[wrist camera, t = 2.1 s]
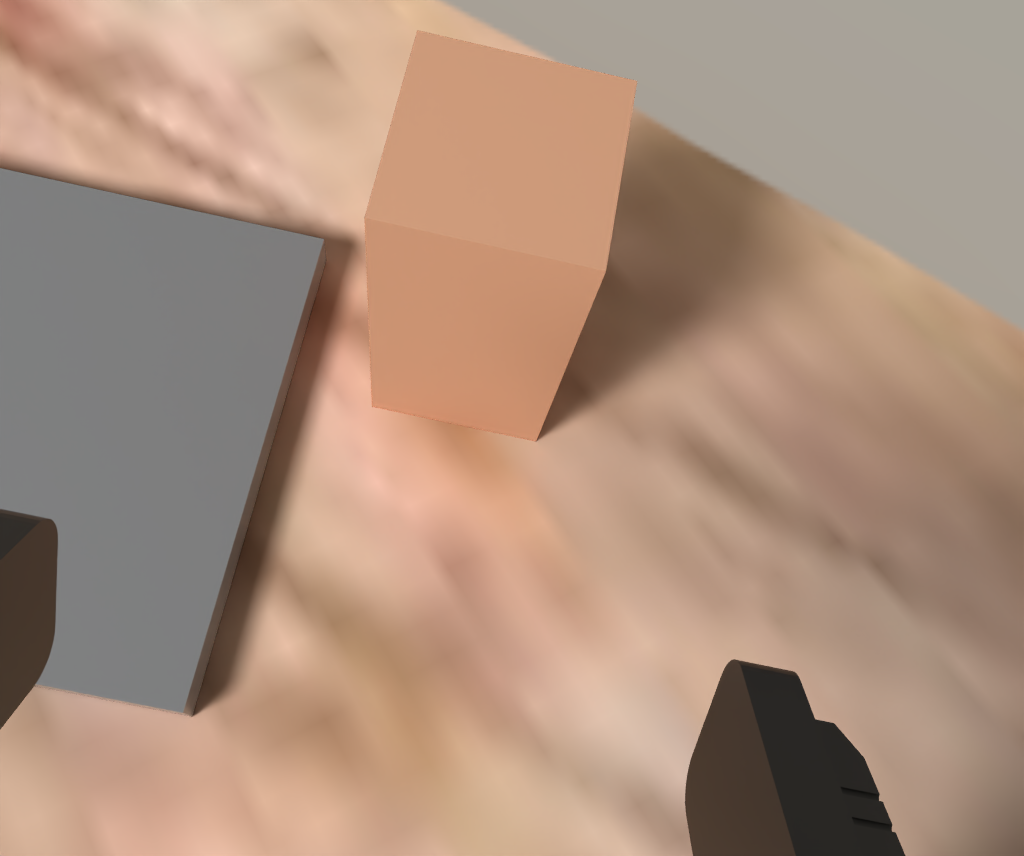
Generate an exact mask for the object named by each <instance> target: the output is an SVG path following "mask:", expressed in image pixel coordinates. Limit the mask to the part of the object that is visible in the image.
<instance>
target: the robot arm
mask: <svg viewBox="0 0 1024 856" xmlns="http://www.w3.org/2000/svg"><path fill="white" fill-rule="evenodd" d="M57 557H58V532H57V527H56V524H55V523H54V521H53V520H52V519H48V518H43V517H39V516H34V515H29V514H24V513H19V512H14V511H9V510H4V509H0V729H1V728H2V727H3V725H4V724H5V723H6V721H7V720H8V719H9V718H10V716H11V715H12V714H13V712H14V711H15V710H16V709H17V707H18V706H19V705H20V703H21V702H22V701H23V700H24V698H25V697H26V696H27V694H28V693H29V692H30V691H31V689H32V688H33V687H34V685H35V684H36V683H37V681H38V680H39V678H40V676H41V674H42V672H43V670H44V668H45V666H46V664H47V661H48V658H49V656H50V653H51V649H52V645H53V641H54V635H55V623H56V590H57ZM879 795H880V794H879V792H878V790H877V787H876V785H875V783H874V780H873V778H872V775H871V773H870V771H869V768H868V766H867V764H866V761H865V759H864V757H863V756H862V755H861V754H860V753H859V751H858V750H857V749H856V748H855V747H854V746H853V745H852V743H851V742H850V741H849V740H848V739H847V738H846V737H845V735H844V734H843V733H842V732H841V731H840V730H839V729H838V727H837V726H836V725H835V724H834V723H830V722H825V721H820V720H815V718H814V715H813V713H812V710H811V707H810V705H809V702H808V699H807V697H806V694H805V691H804V689H803V686H802V683H801V681H800V679H799V676H798V675H797V674H796V673H795V672H793V671H788V670H783V669H778V668H773V667H769V666H764V665H759V664H754V663H749V662H744V661H739V660H731V661H730V662H729V663H728V664H727V666H726V667H725V669H724V671H723V673H722V676H721V678H720V681H719V684H718V687H717V689H716V692H715V695H714V697H713V700H712V703H711V706H710V708H709V711H708V714H707V717H706V719H705V722H704V725H703V727H702V730H701V733H700V736H699V738H698V741H697V744H696V747H695V749H694V752H693V755H692V758H691V761H690V765H689V769H688V775H687V781H686V793H685V806H686V816H687V822H688V828H689V834H690V840H691V846H692V852H693V856H905V854H904V851H903V849H902V847H901V844H900V842H899V840H898V837H897V835H896V833H895V832H892V823H891V821H890V818H889V816H888V813H887V811H886V809H885V806H884V804H883V802H881V801H879Z"/></svg>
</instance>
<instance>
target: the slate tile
mask: <svg viewBox="0 0 1024 856" xmlns="http://www.w3.org/2000/svg"><path fill="white" fill-rule="evenodd" d="M325 263H326V251H325V243H324V239H321V238H317V237H312V236H308V235H303V234H298V233H294V232H289V231H285V230H280V229H276V228H271V227H267V226H262V225H257V224H253V223H248V222H244V221H239V220H235V219H230V218H225V217H221V216H216V215H212V214H207V213H203V212H198V211H194V210H189V209H184V208H180V207H175V206H171V205H166V204H162V203H157V202H153V201H148V200H143V199H139V198H134V197H130V196H125V195H121V194H116V193H111V192H107V191H102V190H98V189H93V188H89V187H84V186H80V185H75V184H70V183H66V182H61V181H57V180H52V179H48V178H43V177H38V176H34V175H29V174H25V173H20V172H16V171H11V170H7V169H2V168H0V509H4V510H9V511H14V512H19V513H24V514H29V515H34V516H39V517H43V518H48V519H52V520H53V521H54V523H55V524H56V527H57V532H58V557H57V590H56V623H55V635H54V641H53V645H52V649H51V653H50V656H49V658H48V661H47V664H46V666H45V668H44V670H43V672H42V674H41V676H40V678H39V680H38V681H37V683H36V684H35V685H34V686H37V687H42V688H47V689H52V690H58V691H63V692H68V693H73V694H78V695H83V696H88V697H93V698H98V699H104V700H109V701H114V702H119V703H124V704H129V705H134V706H139V707H144V708H150V709H155V710H160V711H165V712H170V713H175V714H180V715H185V716H190V717H192V716H193V712H194V709H195V706H196V702H197V699H198V695H199V692H200V688H201V685H202V682H203V678H204V675H205V671H206V668H207V665H208V661H209V658H210V654H211V651H212V648H213V644H214V641H215V637H216V634H217V631H218V627H219V624H220V620H221V617H222V614H223V610H224V607H225V603H226V600H227V597H228V593H229V590H230V586H231V583H232V580H233V576H234V573H235V569H236V566H237V563H238V559H239V556H240V552H241V549H242V546H243V542H244V539H245V535H246V532H247V529H248V525H249V522H250V518H251V515H252V512H253V508H254V505H255V501H256V498H257V495H258V491H259V488H260V484H261V481H262V478H263V474H264V471H265V467H266V464H267V460H268V457H269V454H270V450H271V447H272V443H273V440H274V437H275V433H276V430H277V426H278V423H279V420H280V416H281V413H282V409H283V406H284V403H285V399H286V396H287V392H288V389H289V386H290V382H291V379H292V375H293V372H294V369H295V365H296V362H297V358H298V355H299V352H300V348H301V345H302V341H303V338H304V335H305V331H306V328H307V324H308V321H309V318H310V314H311V311H312V307H313V304H314V301H315V297H316V294H317V290H318V287H319V284H320V280H321V277H322V273H323V270H324V267H325Z"/></svg>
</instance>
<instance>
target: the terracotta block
mask: <svg viewBox="0 0 1024 856" xmlns="http://www.w3.org/2000/svg"><path fill="white" fill-rule="evenodd" d="M636 85H637V81H634V80H631V79H626V78H622V77H618V76H613V75H609V74H605V73H600V72H595V71H592V70H587V69H583V68H579V67H574V66H570V65H566V64H561V63H557V62H553V61H548V60H544V59H540V58H535V57H531V56H527V55H522V54H518V53H513V52H509V51H505V50H500V49H496V48H492V47H487V46H483V45H479V44H474V43H470V42H466V41H461V40H457V39H453V38H448V37H444V36H440V35H435V34H431V33H427V32H422V31H418V30H417V33H416V37H415V40H414V44H413V47H412V51H411V54H410V58H409V62H408V65H407V69H406V72H405V76H404V79H403V83H402V86H401V90H400V94H399V97H398V101H397V104H396V108H395V111H394V115H393V118H392V122H391V125H390V129H389V133H388V136H387V140H386V143H385V147H384V150H383V154H382V157H381V161H380V164H379V168H378V172H377V175H376V179H375V182H374V186H373V189H372V193H371V196H370V200H369V203H368V207H367V211H366V214H365V218H364V219H365V244H366V269H367V295H368V320H369V346H370V371H371V396H372V407H377V408H381V409H386V410H391V411H395V412H400V413H405V414H410V415H414V416H419V417H424V418H428V419H433V420H438V421H443V422H447V423H452V424H457V425H461V426H466V427H471V428H476V429H480V430H485V431H490V432H494V433H499V434H504V435H509V436H513V437H518V438H523V439H527V440H532V441H536V440H537V438H538V436H539V433H540V431H541V428H542V426H543V423H544V421H545V418H546V416H547V414H548V411H549V409H550V406H551V404H552V401H553V399H554V397H555V394H556V392H557V389H558V387H559V384H560V382H561V380H562V377H563V375H564V372H565V370H566V367H567V365H568V363H569V360H570V358H571V355H572V353H573V350H574V348H575V345H576V343H577V341H578V338H579V336H580V333H581V331H582V328H583V326H584V324H585V321H586V319H587V316H588V314H589V311H590V309H591V307H592V304H593V302H594V299H595V297H596V294H597V292H598V289H599V287H600V285H601V282H602V280H603V277H604V275H605V272H606V268H607V262H608V256H609V250H610V244H611V238H612V232H613V226H614V220H615V213H616V207H617V201H618V195H619V189H620V183H621V177H622V171H623V165H624V159H625V153H626V146H627V140H628V134H629V128H630V122H631V116H632V110H633V104H634V98H635V92H636Z"/></svg>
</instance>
